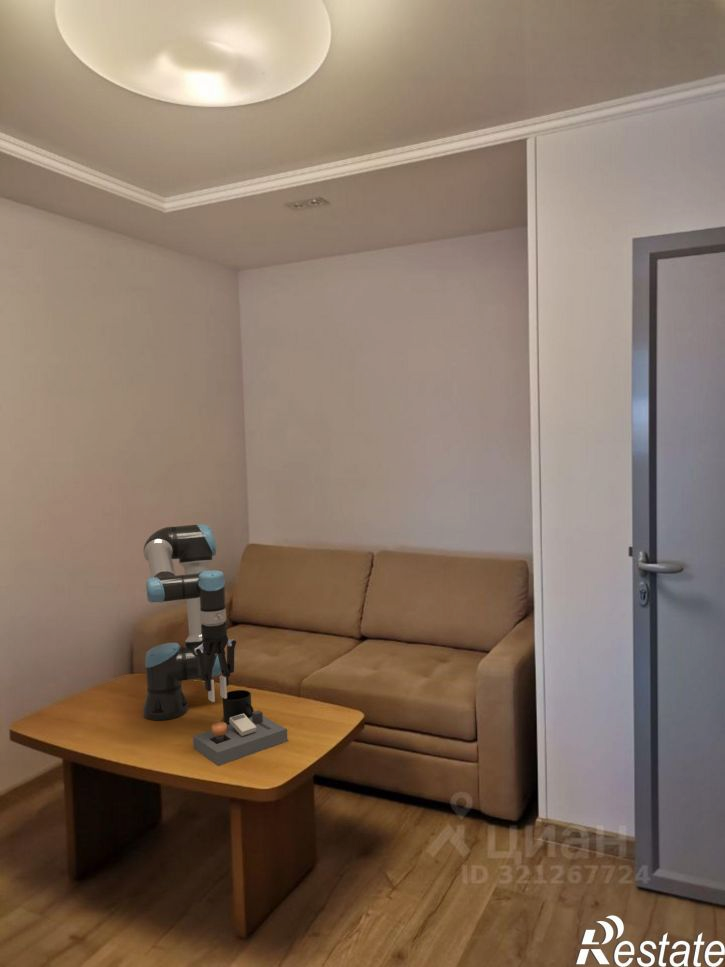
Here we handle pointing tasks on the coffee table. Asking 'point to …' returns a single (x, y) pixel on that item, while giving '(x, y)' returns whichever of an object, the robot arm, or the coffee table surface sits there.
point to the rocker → (242, 724)
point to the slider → (257, 716)
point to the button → (219, 731)
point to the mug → (237, 704)
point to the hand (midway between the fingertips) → (217, 698)
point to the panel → (240, 742)
